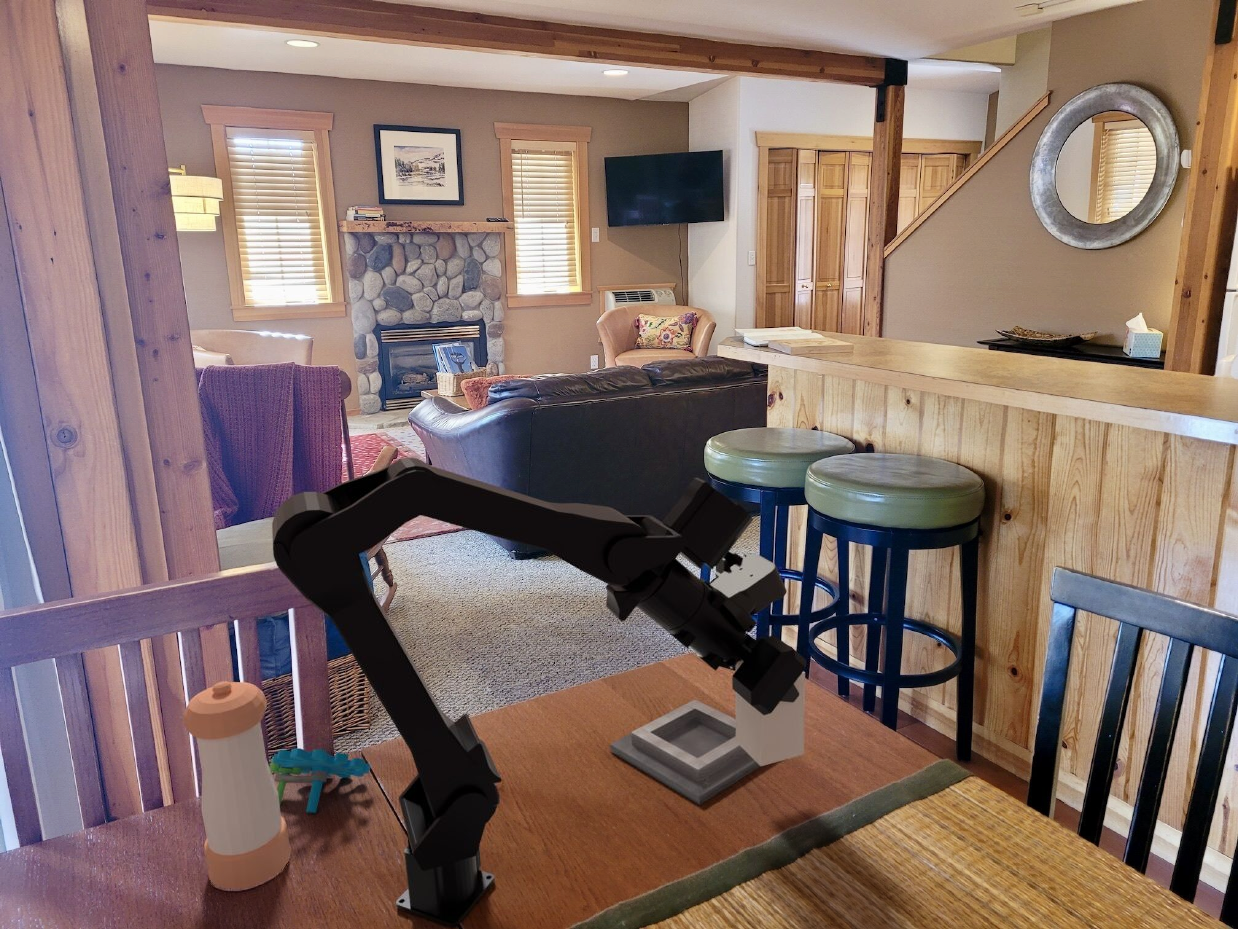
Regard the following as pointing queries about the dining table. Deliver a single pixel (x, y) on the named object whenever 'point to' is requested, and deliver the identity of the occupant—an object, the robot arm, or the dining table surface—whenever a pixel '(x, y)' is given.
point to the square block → (772, 728)
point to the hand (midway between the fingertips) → (781, 686)
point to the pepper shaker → (237, 786)
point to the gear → (313, 770)
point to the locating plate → (688, 751)
